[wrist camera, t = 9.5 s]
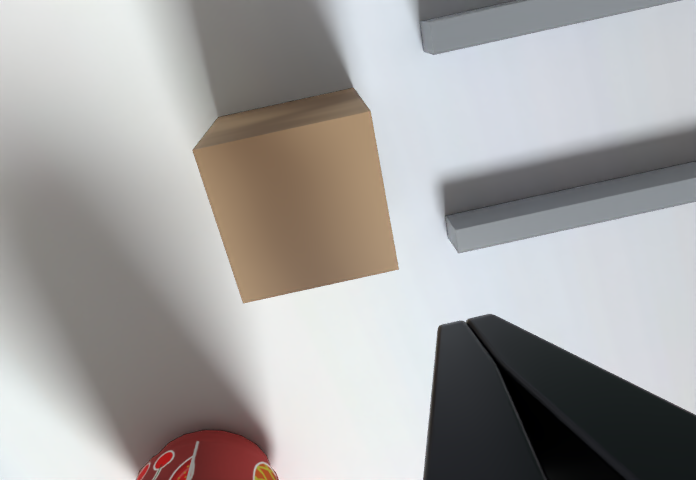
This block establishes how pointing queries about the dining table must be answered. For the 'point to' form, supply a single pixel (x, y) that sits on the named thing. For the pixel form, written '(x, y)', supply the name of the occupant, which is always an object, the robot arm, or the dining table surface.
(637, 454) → the robot arm
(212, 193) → the tan block
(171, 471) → the smoothie
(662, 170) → the channel
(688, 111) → the dining table surface
